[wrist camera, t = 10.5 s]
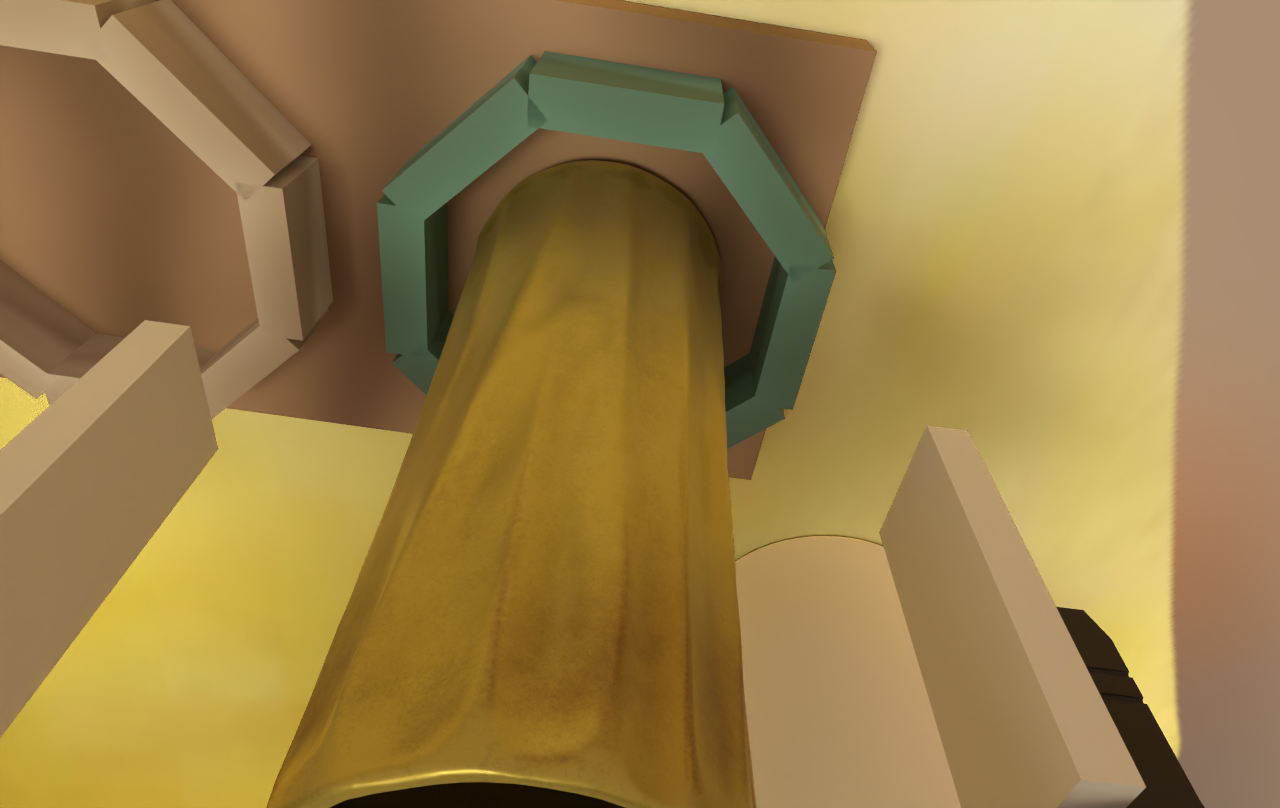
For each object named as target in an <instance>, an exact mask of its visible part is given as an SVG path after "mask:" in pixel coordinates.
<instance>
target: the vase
mask: <svg viewBox="0 0 1280 808" xmlns="http://www.w3.org/2000/svg"><path fill="white" fill-rule="evenodd" d="M721 283H722V268H721V259H720V255H719V251H718V248H717V245H716V242H715V239H714V236H713V234H712V232H711V230H710V228H709V226H708V225H707V223H706V221H705V220H704V218H703V217H702V215H701V214H700V212H699V211H698V209H697V208H696V207H695V205H694V204H693V203H692V202H691V201H690V200H689V199H688V198H687V197H686V196H685V195H684V194H682V193H681V192H679V191H678V190H677V189H675V188H674V187H673V186H671V185H670V184H668V183H666V182H665V181H663V180H661V179H660V178H658V177H656V176H654V175H652V174H650V173H648V172H646V171H644V170H642V169H639V168H636V167H633V166H630V165H627V164H622V163H616V162H610V161H596V160H587V161H574V162H569V163H565V164H560V165H557V166H554V167H551V168H549V169H546V170H543V171H541V172H539V173H537V174H535V175H533V176H531V177H529V178H527V179H525V180H523V181H522V182H521V183H519V184H518V185H517V186H515V187H514V188H513V189H511V191H510V192H509V193H508V194H507V195H506V196H505V197H504V198H503V199H502V200H501V202H500V203H499V205H498V206H497V208H496V209H495V210H494V212H493V213H492V215H491V216H490V218H489V219H488V220H487V222H486V223H485V225H484V227H483V229H482V230H481V232H480V234H479V235H478V241H477V248H476V255H475V258H474V261H473V264H472V266H471V269H470V272H469V274H468V277H467V280H466V283H465V286H464V288H463V291H462V294H461V297H460V300H459V303H458V306H457V309H456V312H455V315H454V318H453V320H452V323H451V326H450V329H449V332H448V336H447V339H446V342H445V345H444V348H443V351H442V354H441V356H440V359H439V362H438V365H437V368H436V371H435V373H434V376H433V379H432V382H431V385H430V388H429V390H428V393H427V396H426V399H425V402H424V405H423V408H422V411H421V414H420V416H419V419H418V422H417V425H416V428H415V431H414V433H413V436H412V439H411V442H410V444H409V447H408V450H407V453H406V455H405V458H404V461H403V464H402V466H401V469H400V472H399V474H398V477H397V480H396V483H395V485H394V488H393V491H392V493H391V496H390V499H389V501H388V504H387V506H386V509H385V512H384V514H383V517H382V520H381V522H380V525H379V527H378V530H377V532H376V534H375V537H374V539H373V542H372V544H371V546H370V549H369V551H368V554H367V556H366V559H365V561H364V564H363V566H362V569H361V572H360V574H359V577H358V579H357V582H356V585H355V587H354V590H353V593H352V595H351V598H350V600H349V603H348V605H347V608H346V610H345V612H344V615H343V617H342V620H341V622H340V624H339V627H338V629H337V632H336V634H335V637H334V639H333V642H332V644H331V647H330V649H329V652H328V654H327V657H326V660H325V662H324V665H323V667H322V670H321V672H320V675H319V678H318V680H317V683H316V685H315V688H314V691H313V693H312V696H311V698H310V701H309V703H308V706H307V708H306V710H305V713H304V715H303V718H302V720H301V723H300V725H299V727H298V730H297V732H296V734H295V737H294V739H293V741H292V744H291V746H290V748H289V751H288V753H287V755H286V758H285V760H284V762H283V765H282V767H281V769H280V772H279V774H278V776H277V779H276V781H275V784H274V787H273V790H272V793H271V796H270V799H269V802H268V804H267V808H757V805H756V796H755V788H754V779H753V769H752V760H751V751H750V742H749V733H748V724H747V714H746V704H745V694H744V682H743V662H742V644H741V630H740V619H739V608H738V598H737V585H736V564H735V550H734V538H733V527H732V517H731V503H730V489H729V478H728V469H727V430H726V412H725V377H724V353H723V342H722V319H721V307H720V295H721Z"/></svg>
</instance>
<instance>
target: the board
mask: <svg viewBox="0 0 1280 808" xmlns="http://www.w3.org/2000/svg"><path fill="white" fill-rule="evenodd" d="M875 56H876V51H875V50H874V48H873V47H872V46H871V45H870V44H869V43H868V42H867V41H866V40H863V39H856V38H850V37H844V36H838V35H832V34H825V33H819V32H813V31H807V30H801V29H794V28H788V27H782V26H776V25H769V24H763V23H757V22H751V21H745V20H738V19H732V18H726V17H720V16H714V15H707V14H701V13H695V12H689V11H683V10H676V9H670V8H664V7H658V6H652V5H645V4H639V3H633V2H627V1H621V0H0V377H4V378H8V379H9V380H11V381H12V382H13V383H15V384H16V385H18V386H19V387H20V388H22V389H23V390H25V391H26V392H27V393H29V394H30V395H32V396H33V397H35V398H36V399H37V398H38V397H39V396H40V395H41V394H43V393H44V392H45V394H46V397H47V399H48V402H49V404H52V403H53V402H55V401H56V400H57V399H58V398H59V397H60V396H61V395H62V394H63V393H65V392H66V391H67V390H68V389H69V388H70V387H71V386H72V385H73V384H75V383H76V382H77V381H78V380H79V379H80V378H81V377H82V376H83V375H85V374H86V373H87V372H88V371H89V370H90V369H91V368H92V367H93V366H95V365H96V364H97V363H98V362H99V361H100V360H101V359H102V358H103V357H105V356H106V355H107V354H108V353H109V352H110V351H111V350H112V349H113V348H115V347H116V346H117V345H118V344H119V343H120V342H121V341H122V340H123V339H125V338H126V337H127V336H128V335H129V334H130V333H131V332H132V331H133V330H135V329H136V328H137V327H138V326H139V325H140V324H141V323H142V322H143V321H145V320H148V321H155V322H162V323H170V324H177V325H185V326H190V328H191V332H192V337H193V341H194V345H195V350H196V354H197V359H198V363H199V367H200V372H201V376H202V381H203V385H204V389H205V394H206V398H207V402H208V407H209V411H210V416H211V419H212V418H214V417H215V416H216V415H217V414H219V413H220V412H221V411H222V410H224V409H225V408H230V409H237V410H244V411H252V412H259V413H266V414H274V415H281V416H288V417H295V418H303V419H310V420H317V421H325V422H332V423H339V424H346V425H354V426H361V427H368V428H376V429H383V430H390V431H397V432H405V433H412V434H413V433H414V431H415V428H416V425H417V422H418V419H419V416H420V414H421V411H422V408H423V405H424V402H425V399H426V396H427V393H428V390H429V388H430V385H431V382H432V379H433V376H434V373H435V371H436V368H437V365H438V362H439V359H440V356H441V354H442V351H443V348H444V345H445V342H446V339H447V336H448V332H449V329H450V326H451V323H452V320H453V318H454V315H455V312H456V309H457V306H458V303H459V300H460V297H461V294H462V291H463V288H464V286H465V283H466V280H467V277H468V274H469V272H470V269H471V266H472V264H473V261H474V258H475V255H476V248H477V241H478V235H479V234H480V232H481V230H482V229H483V227H484V225H485V223H486V222H487V220H488V219H489V218H490V216H491V215H492V213H493V212H494V210H495V209H496V208H497V206H498V205H499V203H500V202H501V200H502V199H503V198H504V197H505V196H506V195H507V194H508V193H509V192H510V191H511V189H513V188H514V187H515V186H517V185H518V184H519V183H521V182H522V181H523V180H525V179H527V178H529V177H531V176H533V175H535V174H537V173H539V172H541V171H543V170H546V169H549V168H551V167H554V166H557V165H560V164H565V163H569V162H574V161H587V160H596V161H610V162H616V163H622V164H627V165H630V166H633V167H636V168H639V169H642V170H644V171H646V172H648V173H650V174H652V175H654V176H656V177H658V178H660V179H661V180H663V181H665V182H666V183H668V184H670V185H671V186H673V187H674V188H675V189H677V190H678V191H679V192H681V193H682V194H684V195H685V196H686V197H687V198H688V199H689V200H690V201H691V202H692V203H693V204H694V205H695V207H696V208H697V209H698V211H699V212H700V214H701V215H702V217H703V218H704V220H705V221H706V223H707V225H708V226H709V228H710V230H711V232H712V234H713V236H714V239H715V242H716V245H717V248H718V251H719V255H720V259H721V268H722V283H721V295H720V307H721V319H722V342H723V353H724V377H725V412H726V430H727V469H728V477H733V478H740V479H747V480H751V478H752V475H753V471H754V468H755V464H756V461H757V458H758V454H759V451H760V447H761V444H762V440H763V437H764V434H765V430H766V428H768V427H770V426H772V425H774V424H776V423H777V422H779V421H781V420H783V419H785V416H784V410H783V409H790V410H793V407H794V404H795V401H796V397H797V394H798V391H799V388H800V385H801V381H802V378H803V375H804V372H805V369H806V365H807V362H808V359H809V356H810V353H811V350H812V346H813V343H814V340H815V337H816V334H817V330H818V327H819V324H820V321H821V318H822V314H823V311H824V308H825V305H826V302H827V298H828V295H829V292H830V289H831V286H832V282H833V279H834V276H835V273H836V270H835V267H834V264H833V261H832V259H834V256H833V253H832V250H831V247H830V245H829V242H828V239H827V236H826V233H825V230H824V229H825V226H826V223H827V219H828V216H829V212H830V209H831V206H832V202H833V199H834V195H835V192H836V188H837V185H838V182H839V178H840V175H841V171H842V168H843V165H844V161H845V158H846V154H847V151H848V148H849V144H850V141H851V137H852V134H853V131H854V127H855V124H856V120H857V117H858V114H859V110H860V107H861V103H862V100H863V97H864V93H865V90H866V86H867V83H868V80H869V76H870V73H871V69H872V66H873V62H874V59H875Z"/></svg>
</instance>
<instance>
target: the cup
mask: <svg viewBox="0 0 1280 808" xmlns="http://www.w3.org/2000/svg"><path fill="white" fill-rule="evenodd" d="M735 564H736V585H737V598H738V608H739V619H740V630H741V644H742V662H743V682H744V694H745V704H746V714H747V724H748V733H749V742H750V751H751V760H752V769H753V779H754V788H755V796H756V805H757V808H961V805H960V802H959V798H958V795H957V792H956V788H955V785H954V782H953V778H952V775H951V771H950V768H949V765H948V761H947V758H946V755H945V751H944V748H943V745H942V741H941V738H940V735H939V731H938V728H937V724H936V721H935V718H934V714H933V711H932V708H931V704H930V701H929V698H928V694H927V691H926V687H925V684H924V681H923V677H922V674H921V671H920V667H919V664H918V661H917V657H916V654H915V651H914V647H913V644H912V640H911V637H910V634H909V630H908V627H907V624H906V620H905V617H904V614H903V610H902V607H901V603H900V600H899V597H898V593H897V590H896V587H895V583H894V580H893V577H892V573H891V570H890V567H889V563H888V560H887V556H886V553H885V550H884V547H882V546H880V545H877V544H874V543H871V542H868V541H864V540H860V539H855V538H848V537H839V536H809V537H801V538H794V539H789V540H784V541H780V542H777V543H773V544H770V545H767V546H765V547H762V548H759V549H757V550H755V551H753V552H751V553H749V554H747V555H745V556H743V557H741V558H740V559H738V560H737V561H735Z"/></svg>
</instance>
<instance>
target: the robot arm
mask: <svg viewBox="0 0 1280 808" xmlns="http://www.w3.org/2000/svg"><path fill="white" fill-rule="evenodd" d="M217 450H218V446H217V442H216V438H215V433H214V429H213V424H212V420H211V416H210V411H209V407H208V402H207V398H206V394H205V389H204V385H203V381H202V376H201V372H200V367H199V363H198V359H197V354H196V350H195V345H194V341H193V337H192V332H191V328H190V326H185V325H177V324H170V323H162V322H155V321H148V320H145V321H143V322H142V323H141V324H140V325H139V326H138V327H137V328H136V329H135V330H133V331H132V332H131V333H130V334H129V335H128V336H127V337H126V338H125V339H123V340H122V341H121V342H120V343H119V344H118V345H117V346H116V347H115V348H113V349H112V350H111V351H110V352H109V353H108V354H107V355H106V356H105V357H103V358H102V359H101V360H100V361H99V362H98V363H97V364H96V365H95V366H93V367H92V368H91V369H90V370H89V371H88V372H87V373H86V374H85V375H83V376H82V377H81V378H80V379H79V380H78V381H77V382H76V383H75V384H73V385H72V386H71V387H70V388H69V389H68V390H67V391H66V392H65V393H63V394H62V395H61V396H60V397H59V398H58V399H57V400H56V401H55V402H53V403H52V404H51V405H50V406H49V407H48V408H47V409H46V410H45V411H43V412H42V413H41V414H40V415H39V416H38V417H37V418H36V419H35V420H33V421H32V422H31V423H30V424H29V425H28V426H27V427H26V428H25V429H23V430H22V431H21V432H20V433H19V434H18V435H17V436H16V437H15V438H13V439H12V440H11V441H10V442H9V443H8V444H7V445H6V446H5V447H3V448H2V449H1V450H0V738H1V736H2V735H3V734H4V732H5V731H6V730H7V728H8V727H9V726H10V724H11V723H12V722H13V720H14V719H15V718H16V716H17V715H18V714H19V712H20V711H21V710H22V708H23V707H24V706H25V704H26V703H27V702H28V700H29V699H30V698H31V697H32V695H33V694H34V693H35V691H36V690H37V689H38V687H39V686H40V685H41V683H42V682H43V681H44V679H45V678H46V677H47V675H48V674H49V673H50V671H51V670H52V669H53V667H54V666H55V665H56V663H57V662H58V661H59V659H60V658H61V657H62V655H63V654H64V653H65V651H66V650H67V649H68V647H69V646H70V645H71V643H72V642H73V641H74V639H75V638H76V637H77V635H78V634H79V633H80V631H81V630H82V629H83V628H84V626H85V625H86V624H87V622H88V621H89V620H90V618H91V617H92V616H93V614H94V613H95V612H96V610H97V609H98V608H99V606H100V605H101V604H102V602H103V601H104V600H105V598H106V597H107V596H108V594H109V593H110V592H111V590H112V589H113V588H114V586H115V585H116V584H117V582H118V581H119V580H120V578H121V577H122V576H123V574H124V573H125V572H126V570H127V569H128V568H129V566H130V565H131V564H132V562H133V561H134V560H135V559H136V557H137V556H138V555H139V553H140V552H141V551H142V549H143V548H144V547H145V545H146V544H147V543H148V541H149V540H150V539H151V537H152V536H153V535H154V533H155V532H156V531H157V529H158V528H159V527H160V525H161V524H162V523H163V521H164V520H165V519H166V517H167V516H168V515H169V513H170V512H171V511H172V509H173V508H174V507H175V505H176V504H177V503H178V501H179V500H180V499H181V497H182V496H183V495H184V493H185V492H186V491H187V489H188V488H189V487H190V486H191V484H192V483H193V482H194V480H195V479H196V478H197V476H198V475H199V474H200V472H201V471H202V470H203V468H204V467H205V466H206V464H207V463H208V462H209V460H210V459H211V458H212V456H213V455H214V454H215V452H216V451H217ZM879 533H880V536H881V540H882V543H883V546H884V550H885V553H886V556H887V560H888V563H889V567H890V570H891V573H892V577H893V580H894V583H895V587H896V590H897V593H898V597H899V600H900V603H901V607H902V610H903V614H904V617H905V620H906V624H907V627H908V630H909V634H910V637H911V640H912V644H913V647H914V651H915V654H916V657H917V661H918V664H919V667H920V671H921V674H922V677H923V681H924V684H925V687H926V691H927V694H928V698H929V701H930V704H931V708H932V711H933V714H934V718H935V721H936V724H937V728H938V731H939V735H940V738H941V741H942V745H943V748H944V751H945V755H946V758H947V761H948V765H949V768H950V771H951V775H952V778H953V782H954V785H955V788H956V792H957V795H958V798H959V802H960V805H961V808H1204V806H1203V805H1202V803H1201V801H1200V800H1199V798H1198V796H1197V795H1196V793H1195V791H1194V789H1193V787H1192V785H1191V783H1190V782H1189V780H1188V778H1187V776H1186V774H1185V773H1184V771H1183V769H1182V767H1181V765H1180V763H1179V762H1178V760H1177V758H1176V756H1175V754H1174V752H1173V751H1172V749H1171V747H1170V745H1169V743H1168V742H1167V740H1166V738H1165V736H1164V734H1163V732H1162V731H1161V729H1160V727H1159V725H1158V723H1157V722H1156V720H1155V718H1154V716H1153V714H1152V712H1151V711H1150V709H1149V707H1148V705H1147V704H1144V703H1143V696H1142V694H1141V692H1140V691H1139V689H1138V687H1137V685H1136V683H1135V681H1134V680H1133V678H1131V677H1129V676H1128V673H1129V671H1128V669H1127V667H1126V665H1125V663H1124V661H1123V660H1122V658H1121V656H1120V654H1119V652H1118V651H1117V649H1116V647H1115V645H1114V643H1113V641H1112V640H1111V639H1110V638H1109V636H1108V635H1107V634H1106V633H1105V632H1104V631H1103V630H1102V629H1101V628H1100V627H1099V626H1098V625H1097V624H1096V623H1095V622H1094V621H1093V620H1092V619H1091V618H1090V617H1089V616H1088V615H1087V614H1086V613H1085V611H1084V610H1077V609H1069V608H1061V607H1056V606H1055V604H1054V602H1053V600H1052V598H1051V596H1050V594H1049V592H1048V590H1047V588H1046V586H1045V584H1044V582H1043V580H1042V578H1041V576H1040V574H1039V572H1038V570H1037V568H1036V566H1035V564H1034V562H1033V560H1032V558H1031V556H1030V554H1029V552H1028V550H1027V548H1026V546H1025V544H1024V542H1023V540H1022V538H1021V536H1020V534H1019V532H1018V530H1017V528H1016V526H1015V524H1014V522H1013V520H1012V518H1011V516H1010V514H1009V512H1008V510H1007V508H1006V506H1005V504H1004V502H1003V500H1002V498H1001V496H1000V494H999V492H998V490H997V488H996V486H995V484H994V482H993V480H992V478H991V476H990V474H989V472H988V470H987V468H986V466H985V464H984V462H983V460H982V458H981V456H980V454H979V452H978V450H977V448H976V446H975V444H974V442H973V440H972V438H971V436H970V434H969V432H968V430H961V429H953V428H946V427H938V426H931V425H927V426H926V428H925V431H924V433H923V435H922V437H921V440H920V442H919V444H918V446H917V449H916V451H915V453H914V456H913V458H912V460H911V462H910V465H909V467H908V469H907V471H906V474H905V476H904V478H903V480H902V483H901V485H900V487H899V489H898V492H897V494H896V496H895V498H894V501H893V503H892V505H891V508H890V510H889V512H888V514H887V517H886V519H885V521H884V523H883V526H882V528H881V530H880V532H879Z"/></svg>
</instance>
